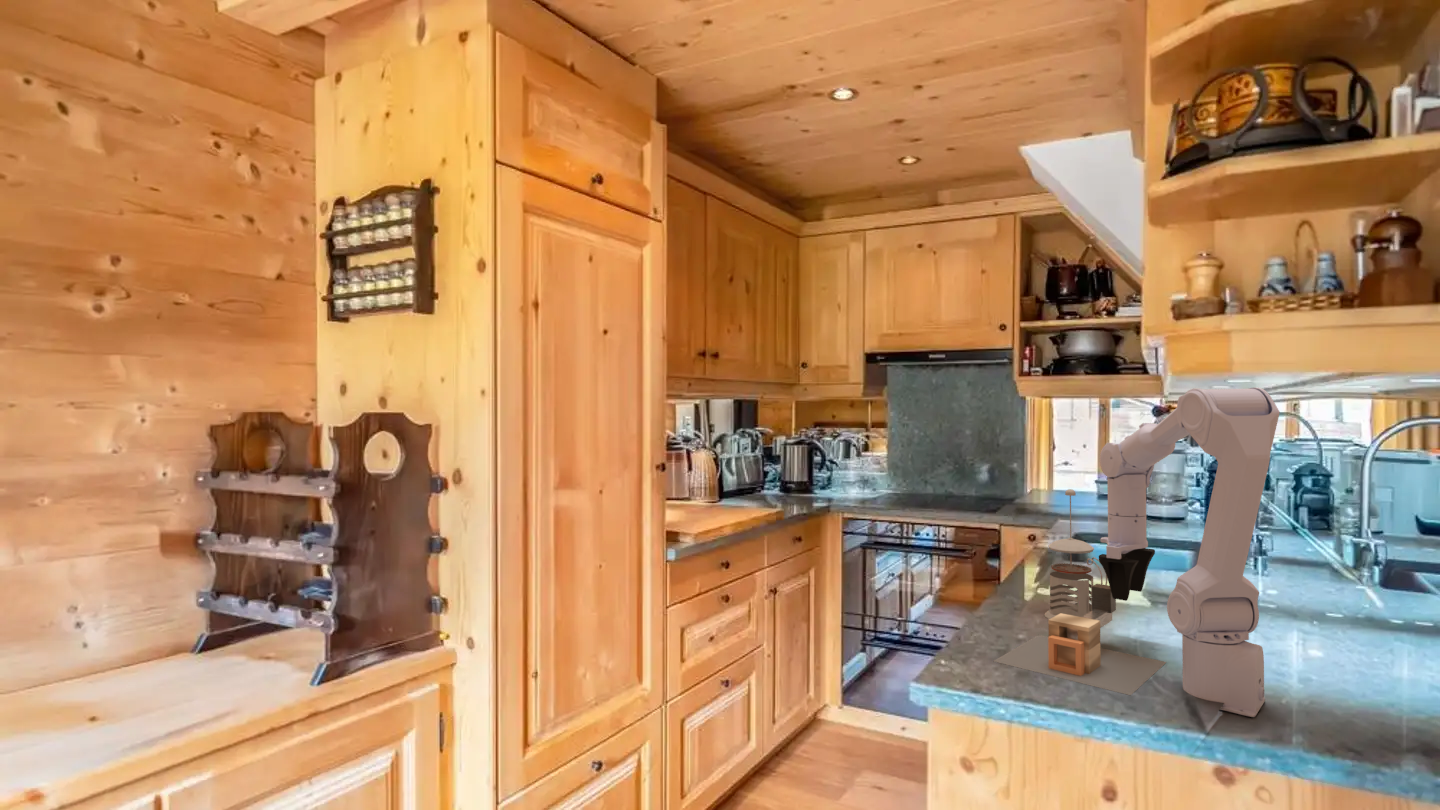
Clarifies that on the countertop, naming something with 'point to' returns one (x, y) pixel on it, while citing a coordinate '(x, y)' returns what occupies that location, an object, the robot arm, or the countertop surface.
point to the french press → (1071, 578)
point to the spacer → (1059, 666)
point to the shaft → (1098, 608)
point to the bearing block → (1086, 633)
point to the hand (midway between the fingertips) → (1127, 594)
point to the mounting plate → (1112, 674)
